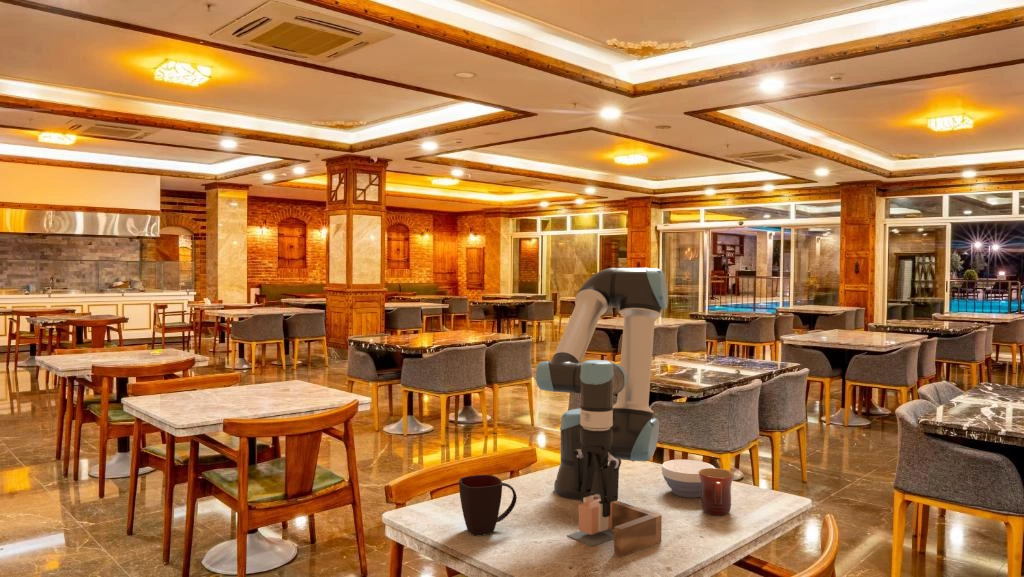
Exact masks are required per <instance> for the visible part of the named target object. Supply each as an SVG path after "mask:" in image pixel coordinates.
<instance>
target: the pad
mask: <svg viewBox="0 0 1024 577" xmlns="http://www.w3.org/2000/svg"><path fill="white" fill-rule="evenodd" d="M567 537H568V538H570V539H573V540H575V541H578V542H580V543H582V544H585V545H587V546H590V547H595V546H597V545H600V544H603V543H606V542H608V541H611V540H614V529H612V528H610V529H607V530H604V531H601V532H598V533H595V534H592V535H591V534H588V533H585V532H583V531H580V530H578V531H576V532H574V533H570V534H568V535H567Z"/></svg>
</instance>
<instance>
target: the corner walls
mask: <svg viewBox="0 0 1024 577" xmlns="http://www.w3.org/2000/svg"><path fill="white" fill-rule="evenodd" d="M592 496H594V500H596V499H599V498H600V499H601V497H600V495H598V494H595V495H592ZM662 515H663V514H659V513H657V512H653V511H650V510H647V509H644V508H641V507H638V506H634V505H632V504H629V503H626V502H622V501H619V500H617V501H613V502H612V528H614V529H613V530H614V539H613V540H614V541H613V554H614V555H615V556H618V557H620V558H622V557H624V556H627V555H629V554H631V553H632V554H633V553H636V552H638V551H640V550H642V549H644V548H645V549H646V548H647V547H650V546H652V545H655V544H658V543H660V542H662V522H663V521H662V519H663V518H662Z"/></svg>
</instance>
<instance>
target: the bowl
mask: <svg viewBox="0 0 1024 577" xmlns="http://www.w3.org/2000/svg"><path fill="white" fill-rule="evenodd" d="M706 468H716V467H715V466H714V465H712V464H711V463H708V462H705V461H701V460H695V459H671V460H667V461H665V462H663V463H662V465H661V474H662V476H663V479H664V480H665V482H666V485H667V486H668V487H669V488H670V489H671V490H670V491H671V492H672V493H673V494H674V495H675V496H678V497H682V498H687V499H693V498H694V499H695V498H701V488H702V485H701V479H700V476H699V470H701V469H706Z"/></svg>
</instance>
